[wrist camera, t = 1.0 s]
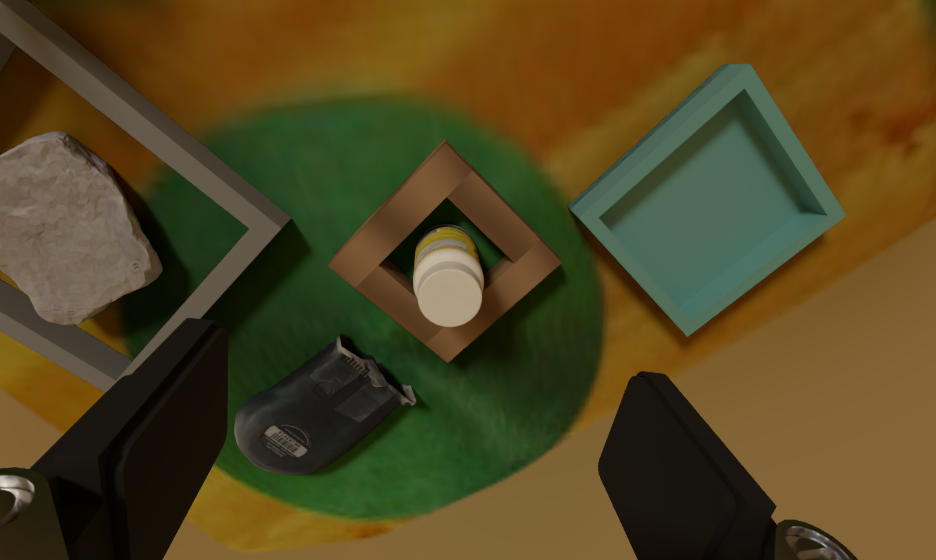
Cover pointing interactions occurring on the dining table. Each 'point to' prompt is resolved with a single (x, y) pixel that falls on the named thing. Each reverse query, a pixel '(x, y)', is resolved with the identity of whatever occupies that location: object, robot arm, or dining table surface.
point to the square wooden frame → (405, 211)
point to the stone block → (69, 230)
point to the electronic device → (318, 411)
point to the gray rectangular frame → (21, 24)
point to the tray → (710, 199)
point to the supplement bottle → (448, 276)
